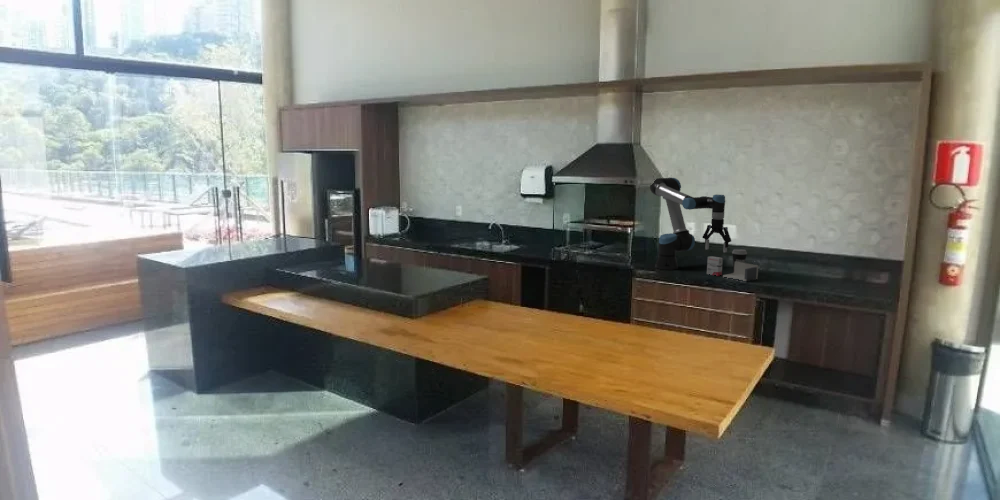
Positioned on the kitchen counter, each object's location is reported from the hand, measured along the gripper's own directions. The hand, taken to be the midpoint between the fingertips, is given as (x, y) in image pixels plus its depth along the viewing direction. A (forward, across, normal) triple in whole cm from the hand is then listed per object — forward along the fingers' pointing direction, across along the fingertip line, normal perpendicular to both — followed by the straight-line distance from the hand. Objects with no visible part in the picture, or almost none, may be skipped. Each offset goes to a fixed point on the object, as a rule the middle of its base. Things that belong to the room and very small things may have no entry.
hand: (715, 250), depth 380 cm
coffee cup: (+16, +4, +20) cm, 26 cm away
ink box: (+16, 0, 0) cm, 16 cm away
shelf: (+16, +16, +4) cm, 23 cm away
